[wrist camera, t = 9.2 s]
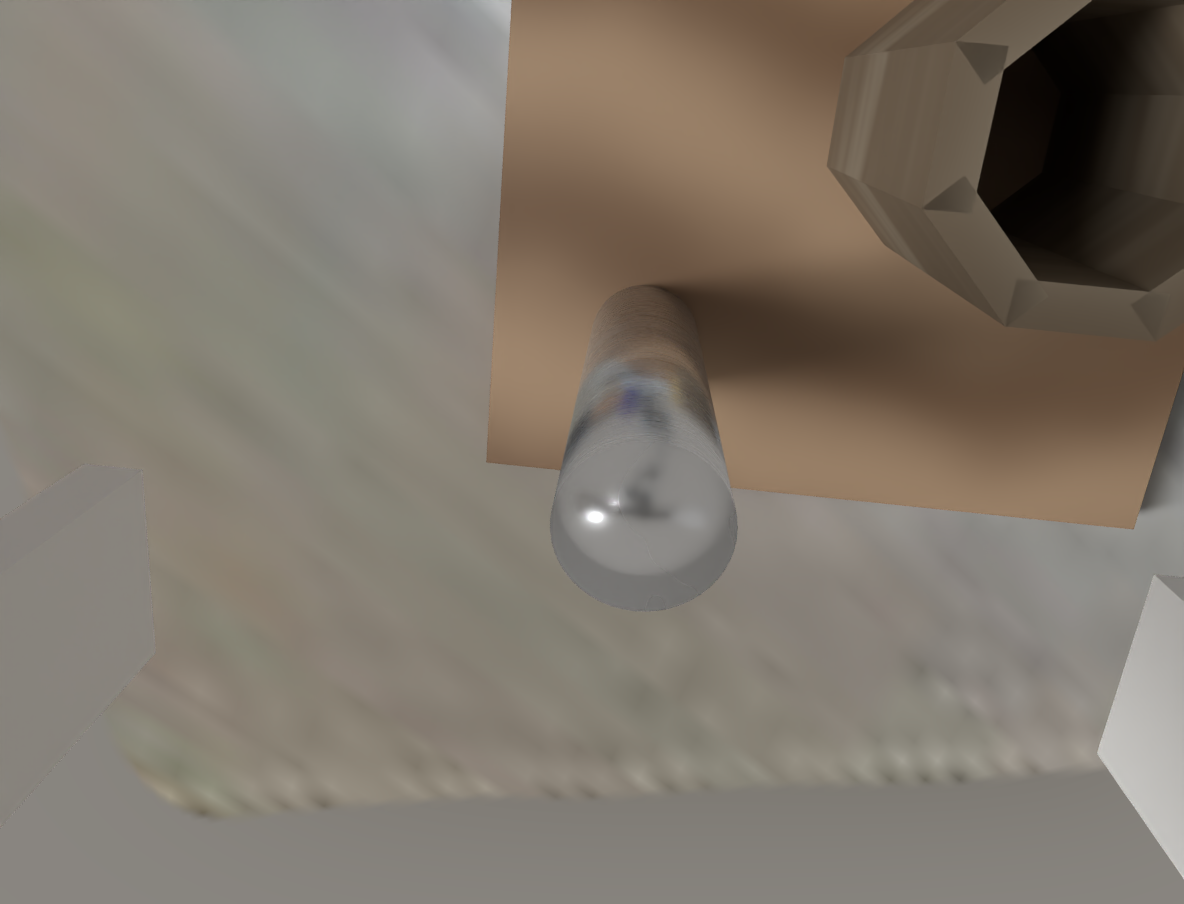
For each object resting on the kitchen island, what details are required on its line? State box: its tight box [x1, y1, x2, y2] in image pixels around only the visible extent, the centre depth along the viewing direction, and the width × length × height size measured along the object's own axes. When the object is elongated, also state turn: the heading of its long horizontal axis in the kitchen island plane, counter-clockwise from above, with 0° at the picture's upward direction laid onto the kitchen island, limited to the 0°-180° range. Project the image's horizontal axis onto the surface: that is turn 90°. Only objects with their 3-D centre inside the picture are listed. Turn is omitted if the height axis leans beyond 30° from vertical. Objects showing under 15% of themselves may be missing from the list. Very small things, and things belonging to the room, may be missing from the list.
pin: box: [550, 285, 738, 612], centre depth 20 cm, size 3×3×12 cm
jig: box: [486, 0, 1184, 529], centre depth 19 cm, size 24×18×10 cm
